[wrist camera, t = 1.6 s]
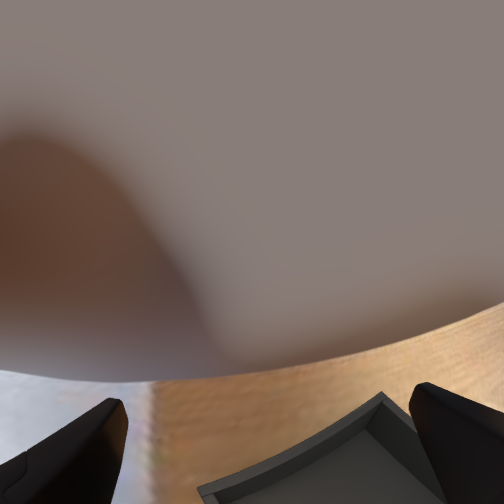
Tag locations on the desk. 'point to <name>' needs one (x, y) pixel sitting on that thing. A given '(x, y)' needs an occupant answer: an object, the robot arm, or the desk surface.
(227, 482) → the bin
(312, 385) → the desk surface
